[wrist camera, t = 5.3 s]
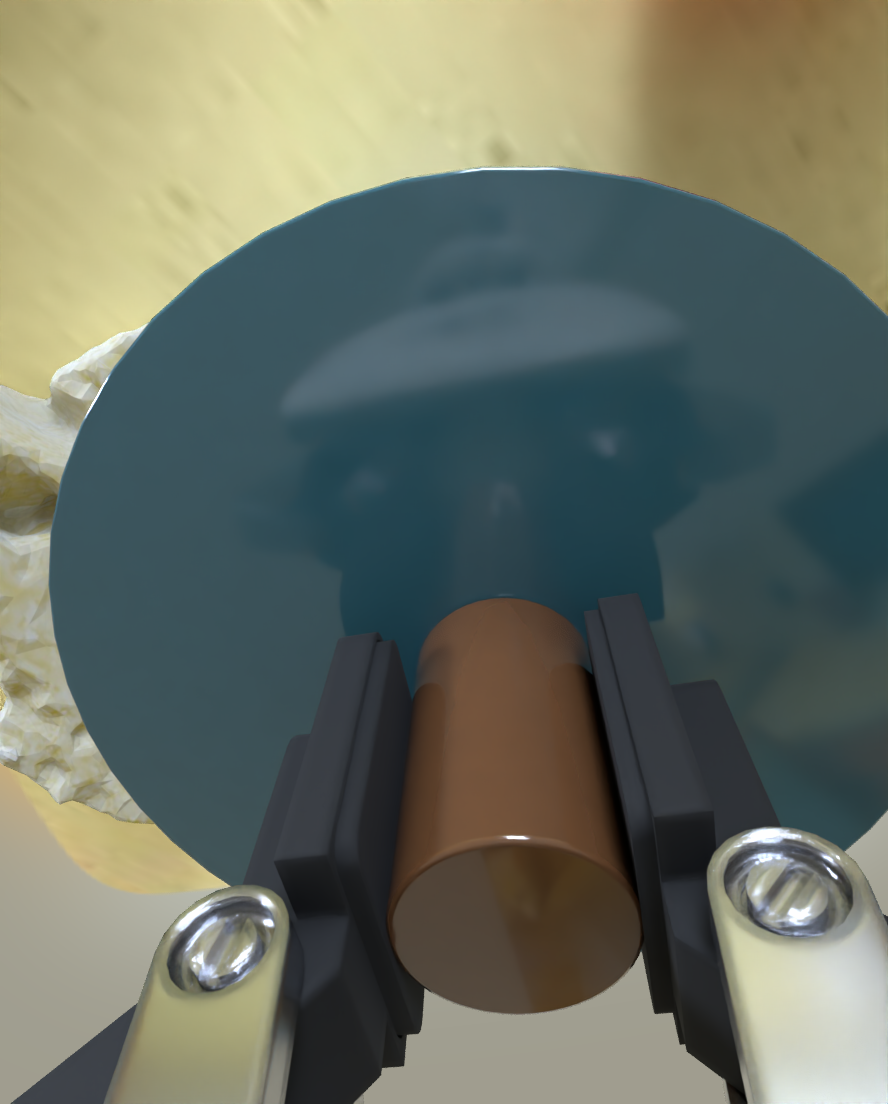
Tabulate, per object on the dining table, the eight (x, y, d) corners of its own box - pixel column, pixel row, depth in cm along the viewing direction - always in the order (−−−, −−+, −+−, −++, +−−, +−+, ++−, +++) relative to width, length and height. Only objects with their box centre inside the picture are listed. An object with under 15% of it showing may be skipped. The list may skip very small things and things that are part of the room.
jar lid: (988, 46, 9) (1619, -80, 4) (916, 875, 15) (1136, 1243, 10) (-74, 283, 11) (-560, 402, 6) (236, 944, 17) (131, 1288, 12)
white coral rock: (-7, 249, 29) (-320, 593, 25) (44, 208, 24) (-349, 642, 19) (288, 497, 38) (95, 781, 34) (376, 511, 33) (156, 852, 28)
